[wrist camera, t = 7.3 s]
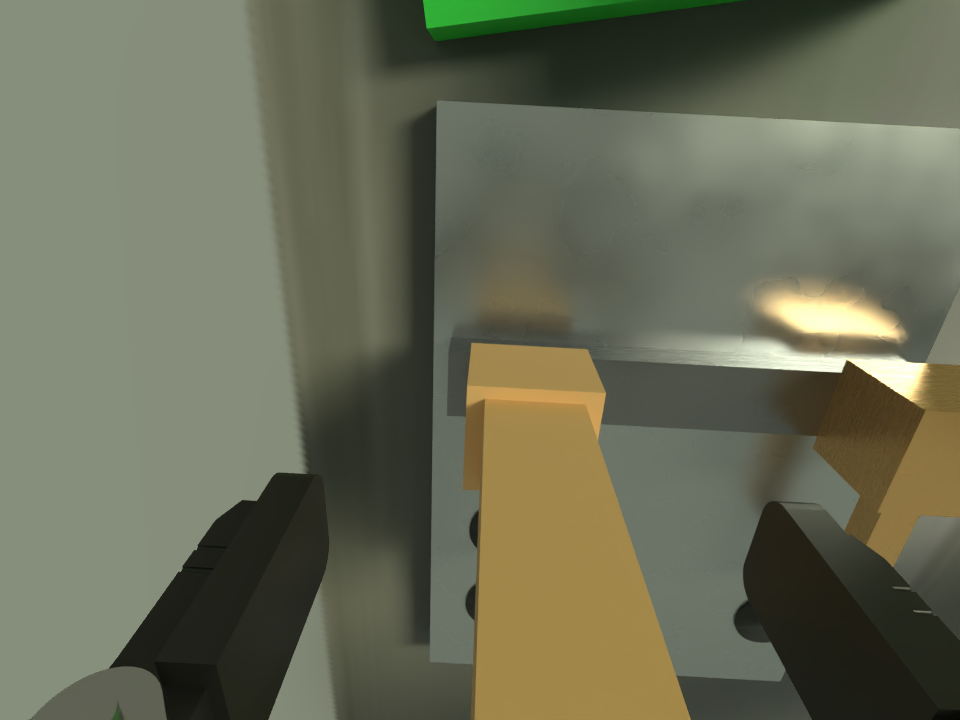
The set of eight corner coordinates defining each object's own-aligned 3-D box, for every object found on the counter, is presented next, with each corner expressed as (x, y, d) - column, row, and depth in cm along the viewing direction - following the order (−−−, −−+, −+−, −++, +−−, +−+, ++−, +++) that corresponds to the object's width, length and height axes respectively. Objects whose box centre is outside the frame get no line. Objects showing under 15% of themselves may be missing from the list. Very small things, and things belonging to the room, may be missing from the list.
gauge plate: (985, 132, 13) (1237, 134, 9) (765, 653, 21) (837, 791, 17) (441, 102, 13) (414, 89, 9) (432, 634, 21) (416, 768, 17)
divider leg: (580, 333, 14) (761, 759, 5) (550, 546, 17) (620, 1054, 8) (472, 327, 14) (430, 739, 5) (463, 541, 17) (426, 1043, 8)
